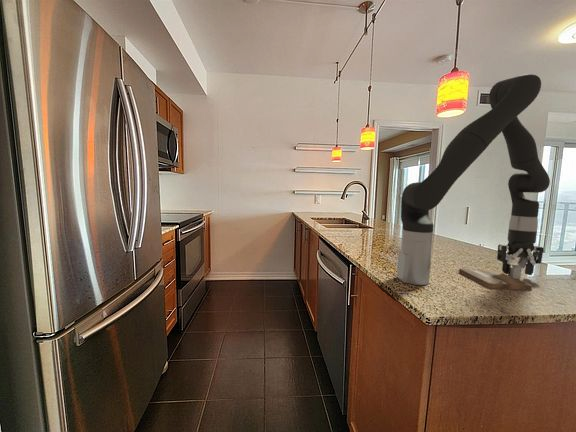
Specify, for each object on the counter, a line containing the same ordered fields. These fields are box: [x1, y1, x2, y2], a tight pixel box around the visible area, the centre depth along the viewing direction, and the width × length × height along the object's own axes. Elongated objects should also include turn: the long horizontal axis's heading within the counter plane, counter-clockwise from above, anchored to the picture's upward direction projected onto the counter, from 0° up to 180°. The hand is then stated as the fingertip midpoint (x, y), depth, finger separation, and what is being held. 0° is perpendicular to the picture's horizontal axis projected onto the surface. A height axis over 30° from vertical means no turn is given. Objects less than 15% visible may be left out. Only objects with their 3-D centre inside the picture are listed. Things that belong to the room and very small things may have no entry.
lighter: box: [507, 257, 528, 280], centre depth 93 cm, size 7×2×8 cm, turn 108°
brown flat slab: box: [458, 268, 533, 291], centre depth 90 cm, size 13×16×2 cm
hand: (517, 273), depth 94 cm, fingers closed on lighter, 7 cm apart
